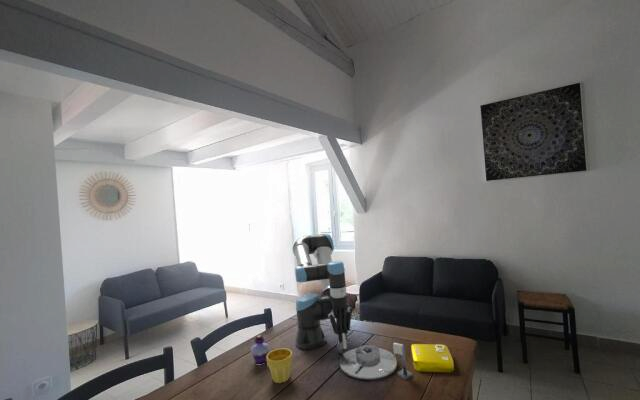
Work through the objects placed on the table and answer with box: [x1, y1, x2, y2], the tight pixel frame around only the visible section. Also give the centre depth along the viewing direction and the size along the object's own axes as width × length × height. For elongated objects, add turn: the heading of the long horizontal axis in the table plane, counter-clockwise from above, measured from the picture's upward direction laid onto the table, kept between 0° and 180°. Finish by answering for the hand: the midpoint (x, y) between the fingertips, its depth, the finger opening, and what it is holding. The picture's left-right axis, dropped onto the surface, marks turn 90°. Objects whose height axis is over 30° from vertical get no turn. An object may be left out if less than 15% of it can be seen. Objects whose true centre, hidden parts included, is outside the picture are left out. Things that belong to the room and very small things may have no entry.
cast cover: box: [356, 344, 380, 367], centre depth 124 cm, size 10×10×4 cm
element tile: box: [410, 343, 455, 373], centre depth 122 cm, size 15×15×5 cm
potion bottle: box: [249, 334, 270, 365], centre depth 134 cm, size 9×9×12 cm
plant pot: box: [266, 347, 293, 384], centre depth 119 cm, size 10×10×10 cm
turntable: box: [336, 340, 398, 381], centre depth 125 cm, size 27×24×6 cm
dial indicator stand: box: [392, 342, 414, 381], centre depth 115 cm, size 5×4×12 cm
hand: (343, 347), depth 134 cm, fingers closed
